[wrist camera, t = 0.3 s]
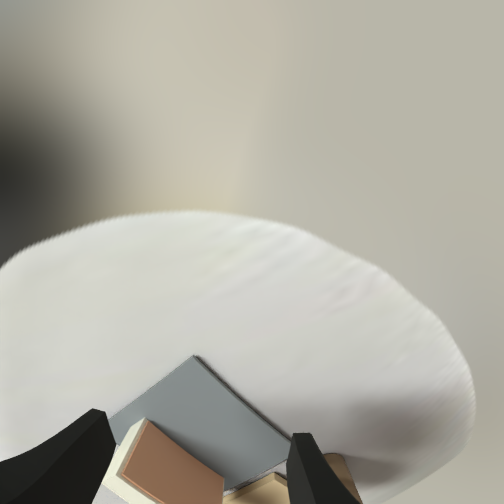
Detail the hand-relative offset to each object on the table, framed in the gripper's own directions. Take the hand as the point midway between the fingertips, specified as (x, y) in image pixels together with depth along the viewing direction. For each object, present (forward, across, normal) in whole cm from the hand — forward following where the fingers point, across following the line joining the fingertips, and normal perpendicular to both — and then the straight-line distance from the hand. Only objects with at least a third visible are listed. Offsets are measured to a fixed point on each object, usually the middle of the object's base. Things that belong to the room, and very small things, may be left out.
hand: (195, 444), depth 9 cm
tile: (+8, +4, +12) cm, 15 cm away
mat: (+9, +2, +10) cm, 14 cm away
